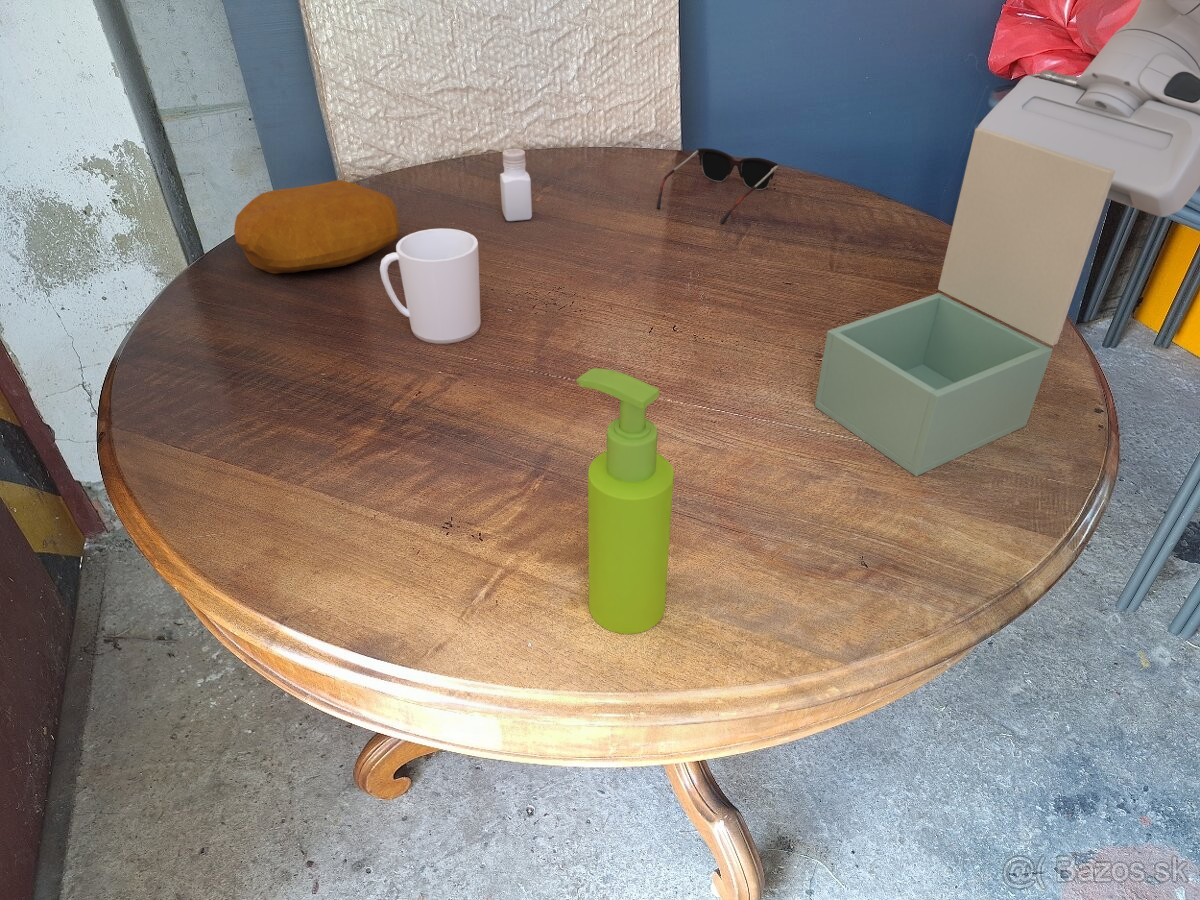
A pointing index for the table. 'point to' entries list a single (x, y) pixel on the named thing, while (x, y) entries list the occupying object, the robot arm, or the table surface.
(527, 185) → the salt shaker
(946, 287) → the lid
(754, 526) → the table surface
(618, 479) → the soap dispenser
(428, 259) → the mug
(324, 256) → the bread
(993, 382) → the green open box
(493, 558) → the table surface
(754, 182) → the sunglasses
